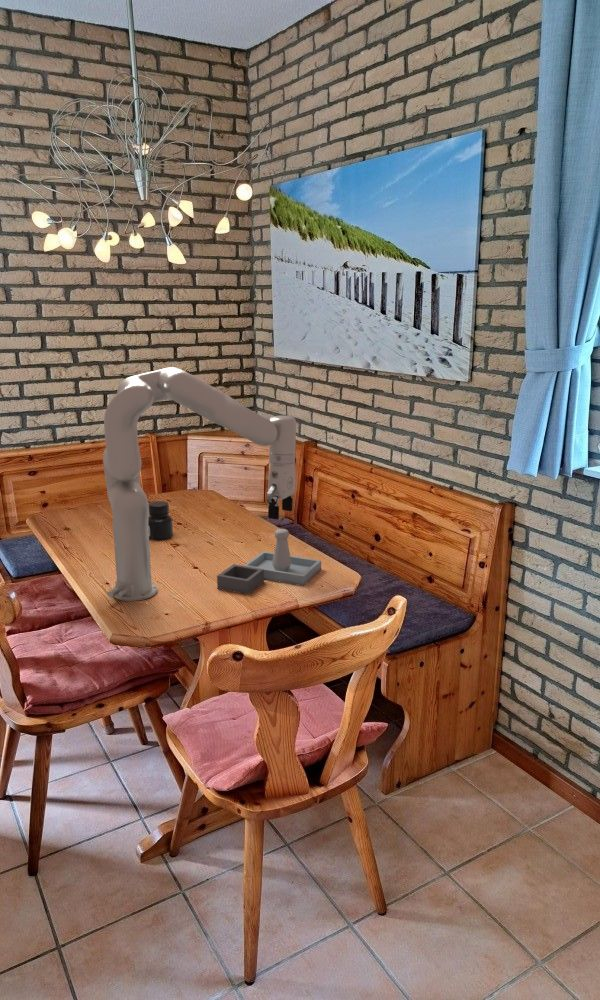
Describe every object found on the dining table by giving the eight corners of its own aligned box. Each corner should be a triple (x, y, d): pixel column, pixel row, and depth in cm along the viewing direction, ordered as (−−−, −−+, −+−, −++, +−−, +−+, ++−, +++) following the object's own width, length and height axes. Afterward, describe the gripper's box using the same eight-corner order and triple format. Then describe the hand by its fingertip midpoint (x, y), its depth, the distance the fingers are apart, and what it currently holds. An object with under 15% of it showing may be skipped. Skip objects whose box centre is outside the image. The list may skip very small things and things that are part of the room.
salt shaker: (284, 575, 213) (284, 534, 209) (268, 571, 216) (268, 530, 212) (294, 569, 217) (294, 529, 214) (279, 565, 220) (279, 525, 217)
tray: (303, 585, 207) (303, 576, 206) (242, 575, 215) (242, 566, 214) (321, 569, 219) (321, 560, 219) (263, 560, 227) (263, 551, 226)
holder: (248, 594, 201) (248, 581, 200) (217, 588, 205) (217, 575, 204) (263, 581, 210) (263, 569, 209) (233, 576, 213) (233, 564, 212)
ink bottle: (155, 531, 254) (153, 499, 251) (177, 533, 252) (176, 501, 248) (142, 539, 245) (140, 506, 242) (165, 542, 243) (163, 508, 239)
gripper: (281, 465, 198) (279, 524, 202) (305, 454, 213) (303, 509, 218) (257, 462, 201) (256, 520, 205) (282, 451, 216) (280, 505, 221)
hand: (280, 514), depth 212 cm, fingers open, 9 cm apart
